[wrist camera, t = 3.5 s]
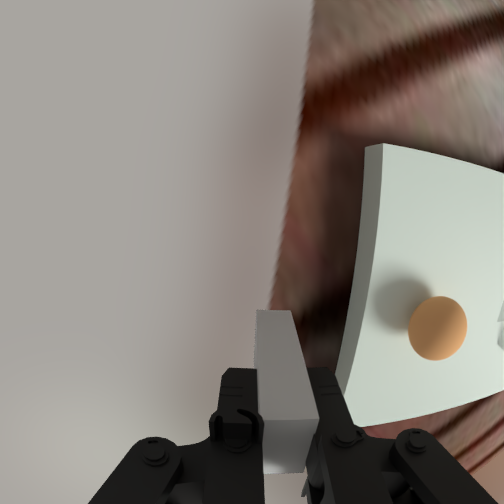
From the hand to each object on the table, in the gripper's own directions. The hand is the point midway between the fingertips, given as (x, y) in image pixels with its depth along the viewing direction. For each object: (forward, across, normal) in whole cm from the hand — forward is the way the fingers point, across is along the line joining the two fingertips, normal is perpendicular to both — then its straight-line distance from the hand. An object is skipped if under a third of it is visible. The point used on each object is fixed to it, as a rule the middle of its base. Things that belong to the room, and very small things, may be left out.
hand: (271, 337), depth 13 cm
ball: (0, +9, 0) cm, 9 cm away
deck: (+4, +16, 0) cm, 17 cm away
